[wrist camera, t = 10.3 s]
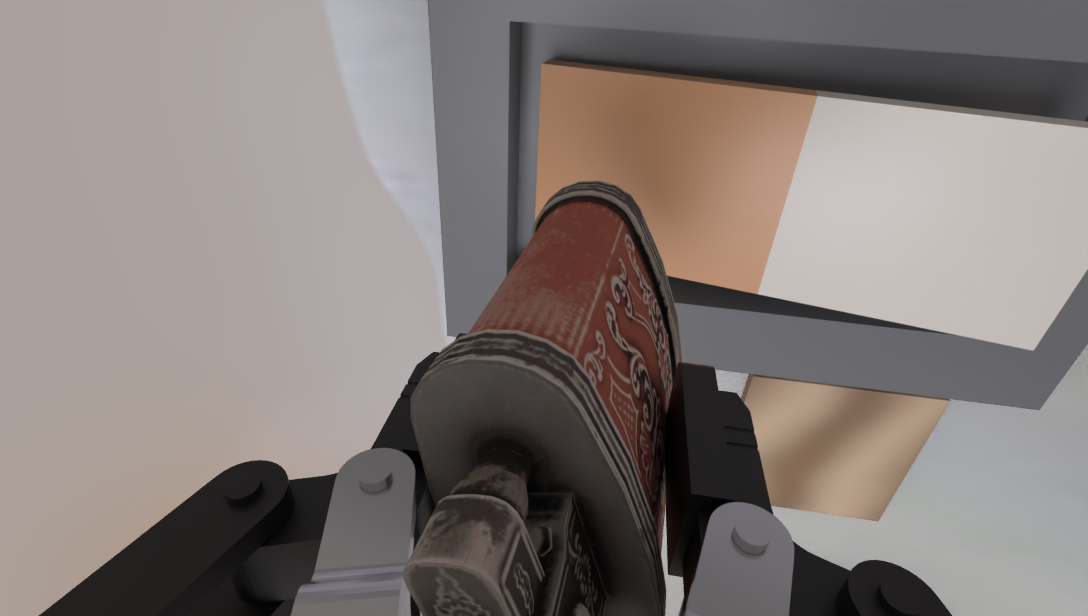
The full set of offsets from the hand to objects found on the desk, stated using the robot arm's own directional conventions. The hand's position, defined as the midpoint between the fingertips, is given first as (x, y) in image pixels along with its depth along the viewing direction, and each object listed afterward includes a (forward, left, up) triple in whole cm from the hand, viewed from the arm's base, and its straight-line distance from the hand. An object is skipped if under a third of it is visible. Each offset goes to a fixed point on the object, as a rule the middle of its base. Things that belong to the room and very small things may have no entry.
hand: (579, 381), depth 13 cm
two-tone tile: (-7, 0, -12) cm, 14 cm away
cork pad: (-14, +16, -15) cm, 26 cm away
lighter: (-1, 0, -3) cm, 3 cm away
